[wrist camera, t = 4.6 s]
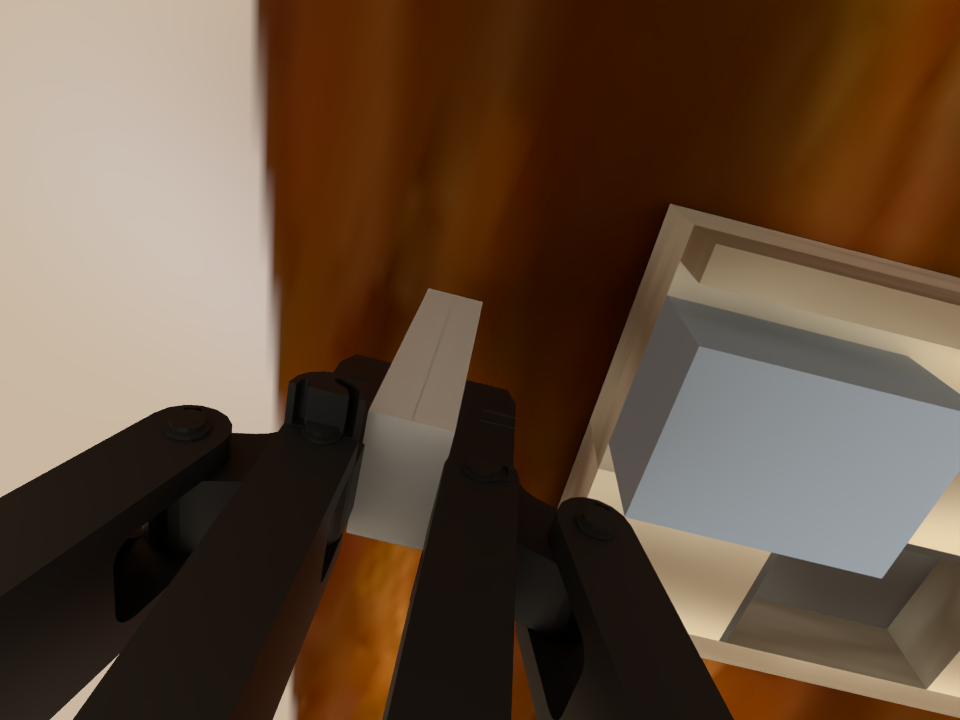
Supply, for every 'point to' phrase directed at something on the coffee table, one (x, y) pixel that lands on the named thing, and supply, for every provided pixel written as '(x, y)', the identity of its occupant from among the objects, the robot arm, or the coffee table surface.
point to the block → (783, 439)
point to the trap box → (774, 577)
